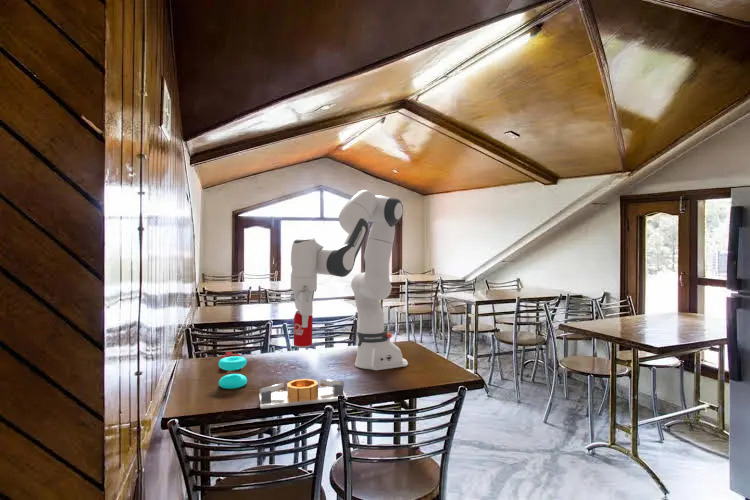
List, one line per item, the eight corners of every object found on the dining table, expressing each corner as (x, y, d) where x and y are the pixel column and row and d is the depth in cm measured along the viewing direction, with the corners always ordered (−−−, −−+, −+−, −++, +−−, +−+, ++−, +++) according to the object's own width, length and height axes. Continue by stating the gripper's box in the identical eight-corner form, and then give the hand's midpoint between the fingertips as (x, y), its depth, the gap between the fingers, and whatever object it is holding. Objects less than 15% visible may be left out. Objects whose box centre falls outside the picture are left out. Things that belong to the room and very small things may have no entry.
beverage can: (294, 344, 164) (295, 310, 164) (312, 344, 165) (313, 310, 165) (292, 348, 158) (293, 312, 158) (311, 348, 159) (312, 312, 159)
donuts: (215, 362, 168) (221, 355, 178) (216, 390, 168) (221, 382, 178) (244, 361, 169) (248, 354, 179) (244, 389, 169) (248, 380, 179)
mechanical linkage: (241, 369, 196) (241, 357, 196) (223, 372, 193) (223, 359, 193) (236, 361, 210) (236, 349, 210) (219, 362, 207) (219, 351, 207)
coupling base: (340, 388, 168) (340, 372, 168) (347, 399, 157) (347, 382, 156) (259, 396, 161) (258, 379, 161) (260, 408, 149) (259, 390, 149)
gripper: (317, 287, 152) (316, 330, 152) (309, 282, 172) (308, 320, 172) (297, 287, 150) (297, 331, 151) (291, 282, 170) (291, 320, 170)
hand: (303, 325), depth 161 cm, fingers closed on beverage can, 6 cm apart
